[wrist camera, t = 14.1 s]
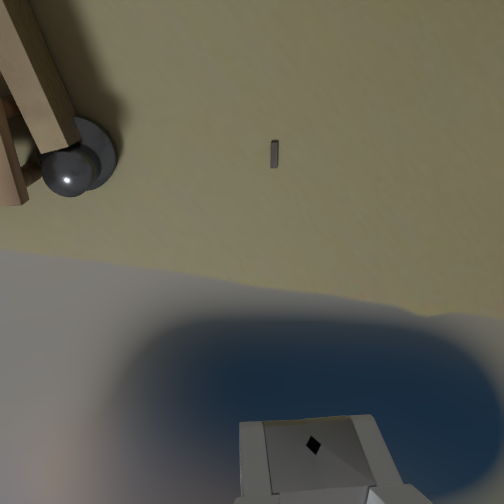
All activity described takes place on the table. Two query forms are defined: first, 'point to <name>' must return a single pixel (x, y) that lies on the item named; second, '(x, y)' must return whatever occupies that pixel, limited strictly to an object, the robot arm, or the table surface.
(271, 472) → the robot arm
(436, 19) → the table surface
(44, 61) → the cam lever
